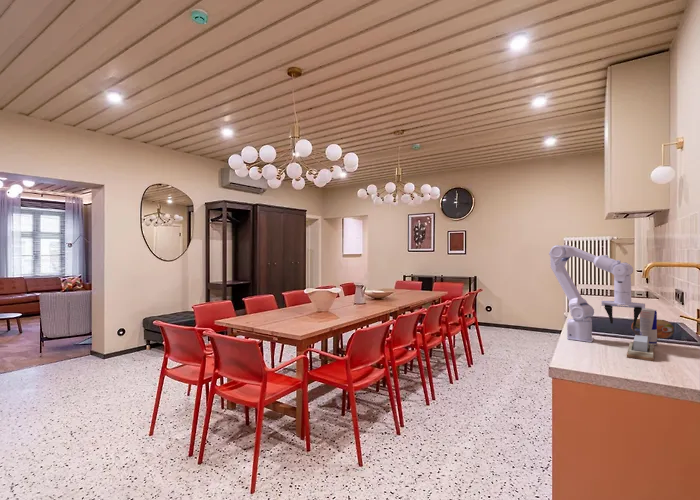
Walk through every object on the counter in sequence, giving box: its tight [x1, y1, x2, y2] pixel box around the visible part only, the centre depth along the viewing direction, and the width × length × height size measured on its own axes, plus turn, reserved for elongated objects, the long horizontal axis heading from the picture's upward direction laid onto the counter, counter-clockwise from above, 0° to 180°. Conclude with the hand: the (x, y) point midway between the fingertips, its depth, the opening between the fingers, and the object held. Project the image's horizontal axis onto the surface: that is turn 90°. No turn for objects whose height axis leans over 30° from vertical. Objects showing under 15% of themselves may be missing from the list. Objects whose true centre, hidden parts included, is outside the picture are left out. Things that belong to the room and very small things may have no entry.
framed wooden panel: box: [626, 341, 655, 362], centre depth 142 cm, size 8×18×2 cm, turn 140°
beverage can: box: [639, 307, 658, 346], centre depth 156 cm, size 6×6×15 cm
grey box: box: [632, 334, 648, 352], centre depth 142 cm, size 4×12×5 cm, turn 140°
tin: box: [631, 318, 675, 339], centre depth 167 cm, size 15×3×8 cm, turn 62°
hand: (623, 324), depth 152 cm, fingers open, 7 cm apart
